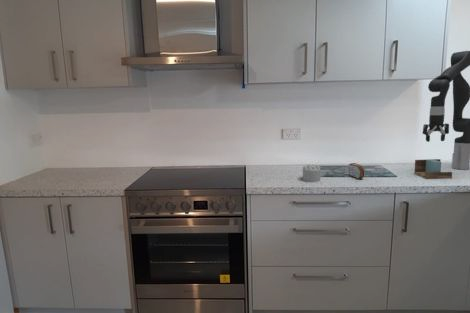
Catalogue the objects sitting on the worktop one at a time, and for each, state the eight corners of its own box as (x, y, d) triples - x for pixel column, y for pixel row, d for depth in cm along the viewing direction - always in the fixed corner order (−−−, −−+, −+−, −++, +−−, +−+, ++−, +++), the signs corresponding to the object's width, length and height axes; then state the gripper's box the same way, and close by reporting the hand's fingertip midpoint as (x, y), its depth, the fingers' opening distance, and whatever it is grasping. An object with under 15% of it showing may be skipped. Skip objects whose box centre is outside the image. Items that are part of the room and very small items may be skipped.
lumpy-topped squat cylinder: (318, 177, 210) (318, 163, 208) (321, 182, 197) (322, 168, 195) (302, 177, 211) (302, 163, 209) (304, 182, 198) (304, 168, 196)
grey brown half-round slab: (364, 180, 199) (365, 166, 197) (359, 180, 198) (360, 166, 197) (351, 174, 213) (352, 161, 212) (347, 174, 213) (347, 162, 211)
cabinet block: (425, 172, 206) (426, 159, 205) (432, 172, 206) (433, 159, 205) (432, 175, 199) (433, 162, 197) (440, 174, 199) (441, 161, 197)
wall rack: (414, 173, 209) (415, 159, 208) (438, 173, 209) (439, 159, 208) (426, 179, 196) (427, 164, 195) (451, 178, 196) (453, 163, 195)
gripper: (445, 113, 200) (443, 140, 203) (421, 114, 200) (419, 140, 203) (453, 114, 192) (450, 141, 195) (428, 115, 192) (426, 142, 195)
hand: (435, 141), depth 199 cm, fingers open, 8 cm apart
